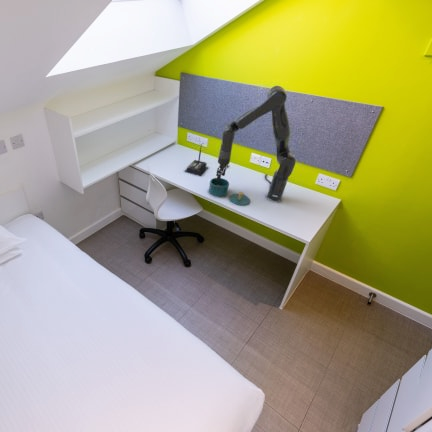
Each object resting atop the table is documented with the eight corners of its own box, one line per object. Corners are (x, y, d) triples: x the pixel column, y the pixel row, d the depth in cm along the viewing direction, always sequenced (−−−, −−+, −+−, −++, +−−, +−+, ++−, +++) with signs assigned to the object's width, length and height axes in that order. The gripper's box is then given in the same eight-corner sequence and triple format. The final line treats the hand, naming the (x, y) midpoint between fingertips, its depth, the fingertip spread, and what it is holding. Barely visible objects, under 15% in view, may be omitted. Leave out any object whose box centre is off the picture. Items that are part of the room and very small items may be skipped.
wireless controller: (201, 176, 227) (204, 155, 217) (184, 171, 232) (186, 151, 222) (209, 165, 241) (213, 146, 230) (194, 161, 246) (196, 142, 236)
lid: (232, 192, 208) (234, 185, 205) (252, 198, 202) (254, 191, 199) (226, 202, 199) (227, 194, 195) (246, 208, 193) (248, 200, 189)
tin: (212, 186, 215) (214, 176, 210) (229, 191, 210) (231, 181, 205) (205, 194, 207) (207, 183, 202) (222, 199, 201) (225, 189, 196)
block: (215, 189, 210) (216, 184, 208) (221, 191, 208) (223, 186, 206) (213, 192, 207) (214, 187, 204) (219, 194, 205) (220, 189, 203)
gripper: (226, 161, 185) (222, 184, 195) (234, 153, 195) (229, 175, 204) (215, 158, 188) (211, 180, 198) (223, 151, 198) (219, 172, 208)
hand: (220, 178), depth 201 cm, fingers open, 8 cm apart
